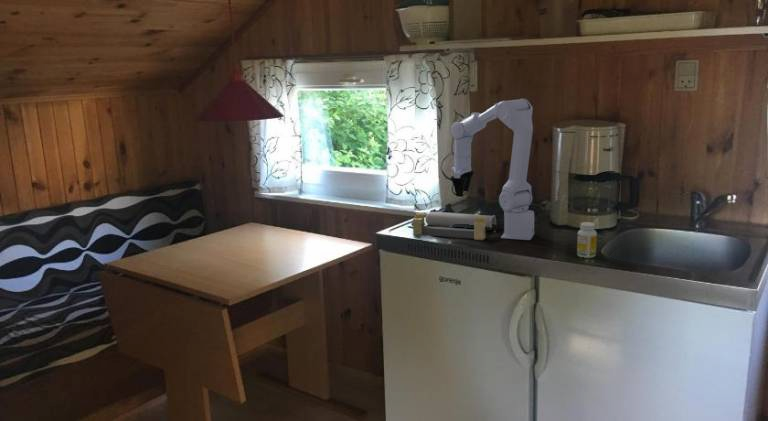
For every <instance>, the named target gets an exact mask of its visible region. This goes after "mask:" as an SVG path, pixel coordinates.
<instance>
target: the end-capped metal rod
mask: <svg viewBox="0 0 768 421" xmlns="http://www.w3.org/2000/svg"><path fill="white" fill-rule="evenodd" d="M427 214H428V212H420V211H419V212H416V213H415V217H414V218H413V219H412V230H413V232H412V234H413V236H421V237H422V236H424V235H423V227H424V226H425V218H426V216H427ZM486 220H487V216H478V217H477V218H476V222H475V223H474V239H473V240H476V241H484V240H485V239H486V230H485V221H486Z"/></svg>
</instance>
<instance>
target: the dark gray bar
mask: <svg viewBox="0 0 768 421" xmlns="http://www.w3.org/2000/svg"><path fill="white" fill-rule="evenodd" d="M422 236H433V237H446V238H448V237H449V238H457V239H459V238H462V239H473V240H474V229H467V228H455V227H444V226H430V225H427V226H426V225H424V227H423V235H422Z"/></svg>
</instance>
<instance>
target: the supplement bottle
mask: <svg viewBox="0 0 768 421" xmlns="http://www.w3.org/2000/svg"><path fill="white" fill-rule="evenodd" d="M595 229H596V223H594V222H589V221H585V222H581V223H580V229H579V230H578V231H577V243H576V244H577V245H576V255H577V257H579V258H583V257H584V258H585V259H589V258H595V256H596V255H597V240H598V233H597V231H596V230H595Z"/></svg>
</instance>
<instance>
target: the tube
mask: <svg viewBox="0 0 768 421" xmlns="http://www.w3.org/2000/svg"><path fill="white" fill-rule="evenodd" d="M478 216H487V220H486V221H485V227H490V228H492V224H495V225H496V226H497V218H496V215H494V214H493V215H489V214H488V215H485V214H473V213H459V212H458V213H457V212H443V211H430V212H427V216H426V217H425V219H424V222H425V223H426V224H427V226H431V227H444V228H451V227H450V226H451V225H453V224H469V225H474V223H475V222H476V218H477V217H478Z"/></svg>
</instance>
